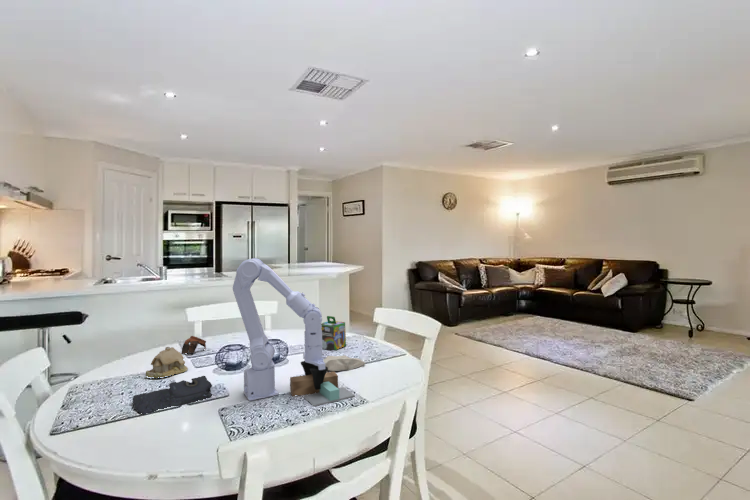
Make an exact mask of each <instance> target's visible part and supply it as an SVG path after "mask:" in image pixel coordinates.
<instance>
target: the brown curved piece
mask: <svg viewBox="0 0 750 500" xmlns="http://www.w3.org/2000/svg"><path fill="white" fill-rule="evenodd" d="M206 343H207V341H206V340H205V339H203V338H201V337H197V336H194V335H190V337H188V338H187V339H186V340H185V341H184V343H183V345H182V348H181V352H182V353H181V354H183V353H188V354H189V353H190V354H192V353H193V354H194V353H195V352H196V349H197V347H198V346H199V345H200V346H202V347H203V350H204V349H205V350H206V348H207V345H206Z"/></svg>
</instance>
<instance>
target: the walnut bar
mask: <svg viewBox="0 0 750 500" xmlns="http://www.w3.org/2000/svg"><path fill="white" fill-rule="evenodd" d="M328 381H329V382H330V383H332V384H333V385H334V386H336V387H337V388H339V375H338V374H337V373H336V371H327V372H326V374H325V377H324V380H323V382H328ZM289 389H290V390H289V391H290V394H291V396H294V397H296V396H295V395H301V396H306V394H307V395H310V394H315V393H319V392H320V389H318V390H315V387H314V381H313V376H312V374H311V375H305V374H303V375H299V376H298V375H296V376H290V377H289Z"/></svg>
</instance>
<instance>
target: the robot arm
mask: <svg viewBox="0 0 750 500" xmlns="http://www.w3.org/2000/svg"><path fill="white" fill-rule="evenodd" d="M235 272H236V273H235V277H234V281H233V284H232V291H233V292H232V293H233V294H234V299H235V301H236V304H237V307H238V311H239V314H240V315H241V319H242V322H243V325H244V327H245V331H246V334H247V337H248V340H249V350H250V364H251V367H248V368H246V369H244V371H243V394H244V396H245V397H246V398H247V400H248V401H255V400H261V399H264V398H265V399H266V398H269V397H273V396H279V394H280V392H278V390H277V389H276V387H275V386H276V384H275V383H276V382H275V381H276V379H275V377H276V375H275V372H276V371H275V370H276V369H275V368H276V367H275V365H276V364H275V362H274V361H273V358H274V355H275V353H276V352H275V351H276V350H275V348H274V346H273V344H272V343H270V340H269V338H268V337H267V335H266V334H265V331H264V328H263V324H262V321H261V320H260V315H259V313H258V310H257V307H256V303H255V300H254V298H253V294H252V291H251V287H252V286H253V285H254V282H255V281H256V280H257V281H259V282H267V283H268V284H269V285H271V287H272V288H274V289H275V290H276V291H277V292H278V293H280V295H282V296H283V297H284V298H285V300H286V301H285V304H286V305H287V306H288V307H289V308H290V309H291V310H292V311H293V312H294V313H295V314H296V315H297V316H299V318H302V320H303V324H304V327H305V328H304V329H305V330H304V334H303V335H304V352H303V353H302V354H303V355H302V357H303V361H300V365H301V367H302V369H303V371H304V375H311V374H312V376H313V381H314V387H315V390H318V389H321V384H323V380H324V377H325V374H326V372H329V371H328V367H325V363H324V360H323V359H326V357H327V356H326V355H324V354H323V349H322V330H321V328H322V325H321V324H322V323H323V322H322V321H323V317H322V316H323V314H322V311H321V310H320V308H319V307H317V306H316V304H315V303H312V302H311V301H310V300H309V299H307V297H306V294H305V293H304V292H300V291H299V290H297V291H294V290H293V289H292V288H290V286H289V285H288V284H287V283H286V282H285V281H284V280H283V279H282V278H281V277H280V276H279V275H278V274H277V273H276V272H275V271H274V270H273V269H272V268H271V267H270V266H269V265H267V264H266V263H264V262H263V261H262V260H261V259H259V258H257V257H253V258H249V259H245V260H243V261H242V262H241V263H240V264H239V266H238V267H237V269H236V271H235Z"/></svg>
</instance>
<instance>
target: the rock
mask: <svg viewBox="0 0 750 500" xmlns="http://www.w3.org/2000/svg"><path fill="white" fill-rule="evenodd" d="M323 360H324V363H325V367H328V371H327V372H333V371H334V372H341V371H346V370H347V371H351V370H354V369H358V368H360V367H362V366H364V365H366V362H365V361H363V360H362V359H360V358H358V357H357V358H356V357H355V358H354V357H348V356H347V355H338V356H336V355H327V356H326V359H323Z"/></svg>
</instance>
